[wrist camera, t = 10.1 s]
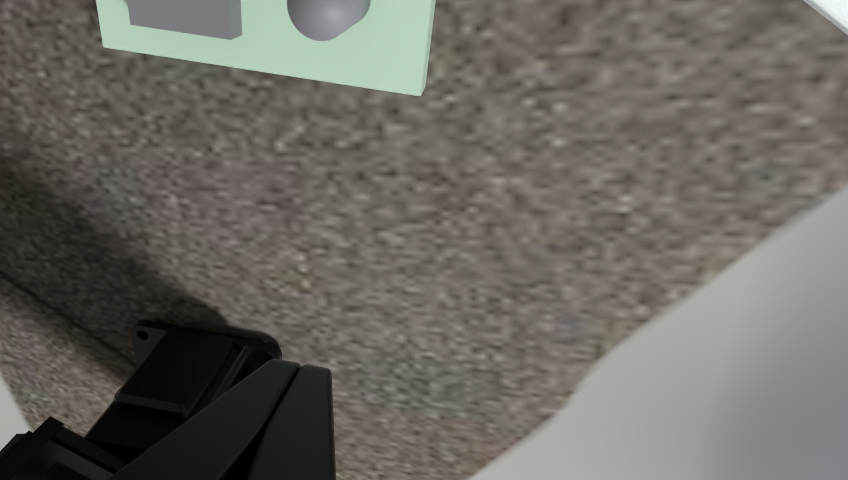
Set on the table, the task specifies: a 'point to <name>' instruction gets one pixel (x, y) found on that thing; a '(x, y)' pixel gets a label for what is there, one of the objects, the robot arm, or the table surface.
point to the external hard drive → (832, 11)
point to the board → (284, 37)
